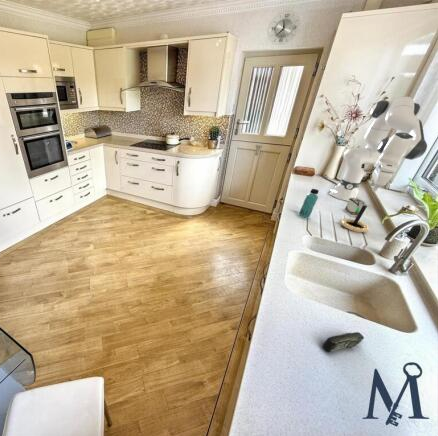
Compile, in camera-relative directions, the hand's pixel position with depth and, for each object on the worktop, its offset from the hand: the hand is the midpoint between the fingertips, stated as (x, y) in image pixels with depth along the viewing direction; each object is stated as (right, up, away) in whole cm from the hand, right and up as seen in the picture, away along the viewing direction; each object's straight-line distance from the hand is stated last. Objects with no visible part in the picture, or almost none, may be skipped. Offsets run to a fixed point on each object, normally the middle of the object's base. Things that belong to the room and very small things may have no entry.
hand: (372, 188), depth 133 cm
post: (0, -23, +13) cm, 26 cm away
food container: (+14, -15, +29) cm, 35 cm away
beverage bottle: (-25, -17, +22) cm, 37 cm away
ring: (-1, -22, +11) cm, 24 cm away
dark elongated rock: (-64, -60, -55) cm, 104 cm away
